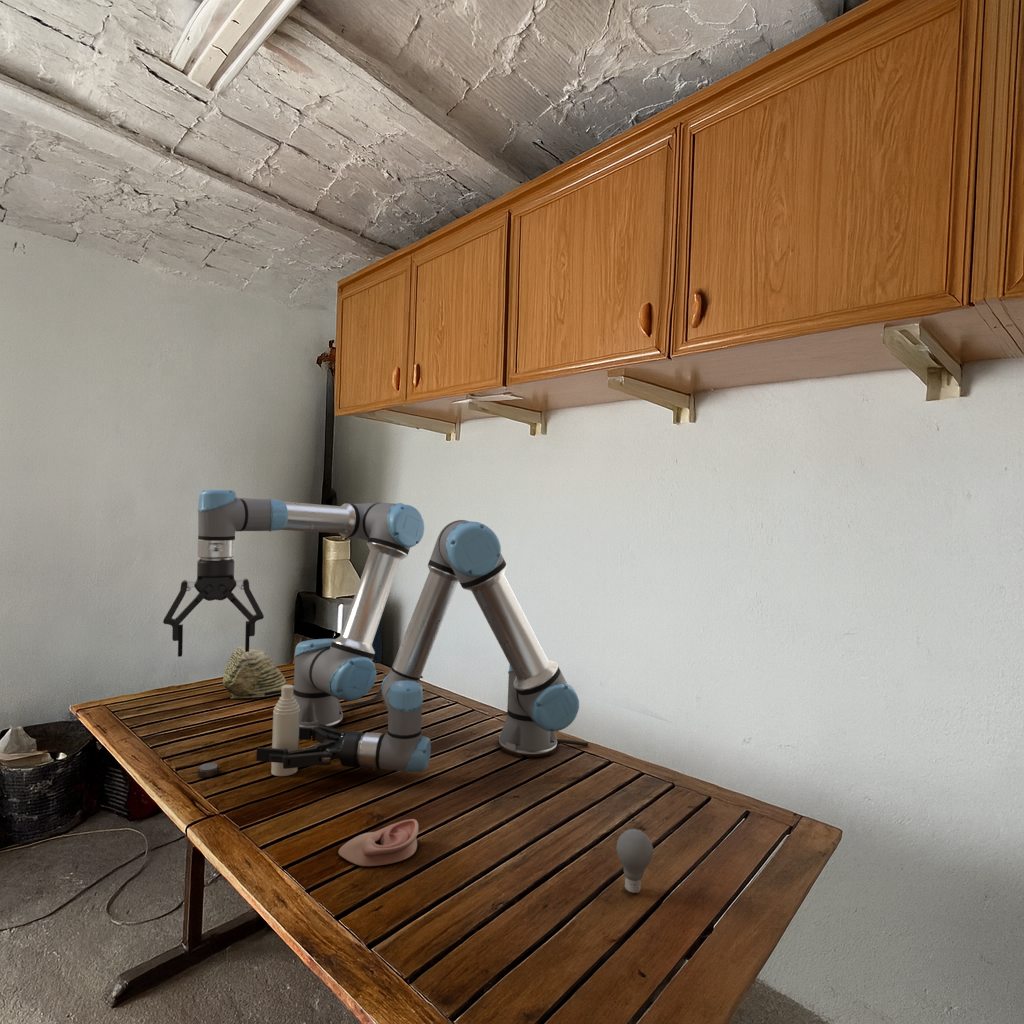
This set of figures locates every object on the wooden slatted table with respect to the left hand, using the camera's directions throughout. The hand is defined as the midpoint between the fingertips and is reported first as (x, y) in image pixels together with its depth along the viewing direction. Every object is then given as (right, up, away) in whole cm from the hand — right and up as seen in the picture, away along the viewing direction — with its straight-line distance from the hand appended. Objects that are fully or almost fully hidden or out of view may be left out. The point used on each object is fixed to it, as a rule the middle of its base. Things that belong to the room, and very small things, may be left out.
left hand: (214, 652), depth 142 cm
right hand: (+11, -21, +4) cm, 25 cm away
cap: (-1, -26, 0) cm, 26 cm away
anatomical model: (+43, -30, -27) cm, 59 cm away
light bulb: (+87, -32, -36) cm, 99 cm away
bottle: (+15, -28, +3) cm, 32 cm away
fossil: (-14, -26, +56) cm, 63 cm away
